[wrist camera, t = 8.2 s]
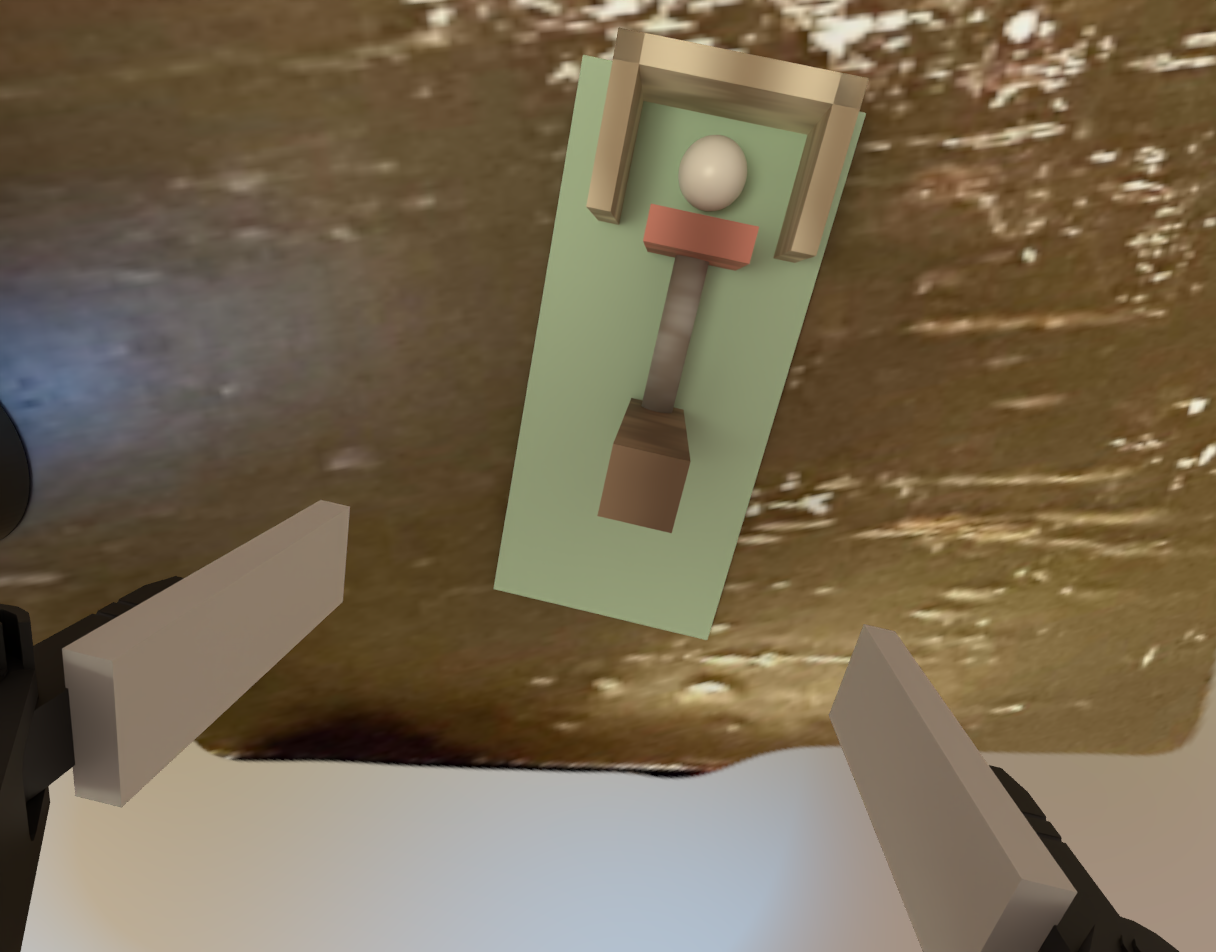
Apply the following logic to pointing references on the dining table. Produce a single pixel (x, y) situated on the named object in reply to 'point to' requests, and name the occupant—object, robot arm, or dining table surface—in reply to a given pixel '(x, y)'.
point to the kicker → (668, 370)
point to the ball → (712, 173)
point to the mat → (619, 366)
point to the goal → (736, 93)
